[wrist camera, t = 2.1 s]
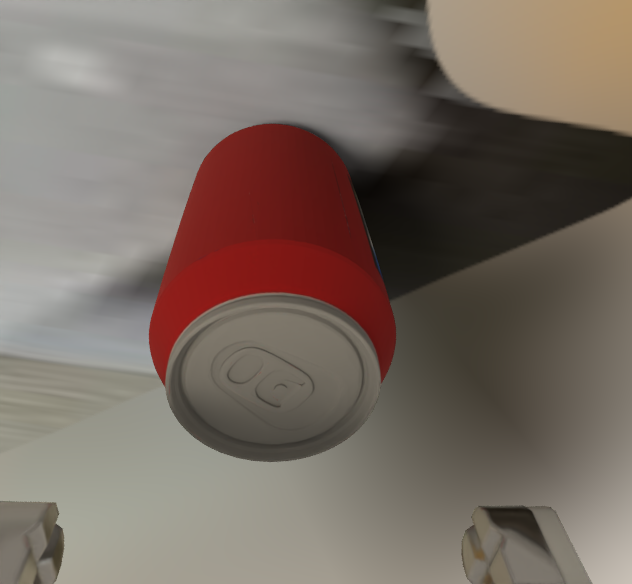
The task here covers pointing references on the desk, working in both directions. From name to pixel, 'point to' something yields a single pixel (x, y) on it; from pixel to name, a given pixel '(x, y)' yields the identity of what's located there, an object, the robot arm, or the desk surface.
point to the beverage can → (272, 301)
